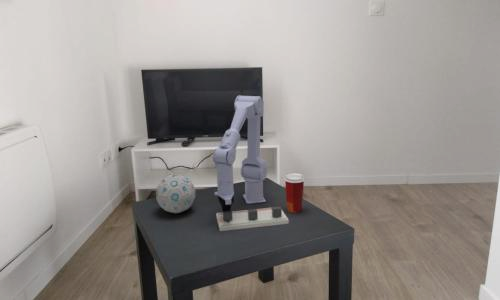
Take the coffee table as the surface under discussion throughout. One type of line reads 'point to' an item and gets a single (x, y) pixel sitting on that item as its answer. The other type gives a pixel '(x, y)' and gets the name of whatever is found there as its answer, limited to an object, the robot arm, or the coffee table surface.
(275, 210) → the block
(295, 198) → the paper cup
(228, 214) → the block
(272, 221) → the breaker panel
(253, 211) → the breaker
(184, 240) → the coffee table surface
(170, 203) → the puzzle ball
